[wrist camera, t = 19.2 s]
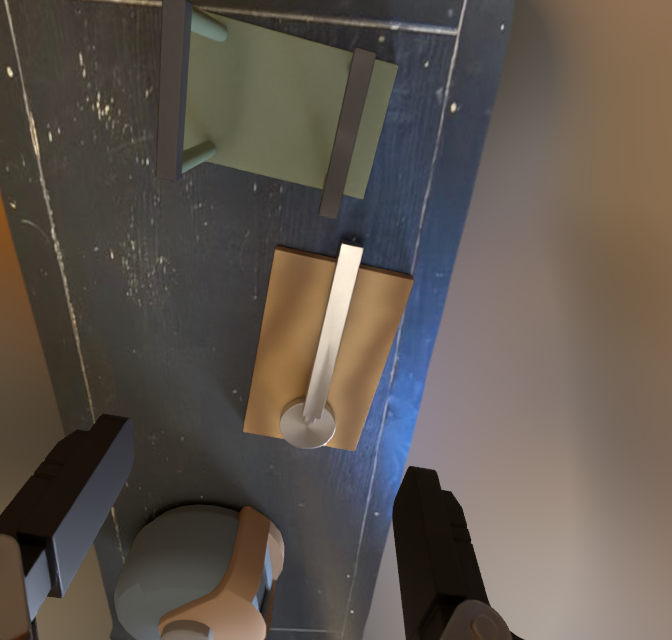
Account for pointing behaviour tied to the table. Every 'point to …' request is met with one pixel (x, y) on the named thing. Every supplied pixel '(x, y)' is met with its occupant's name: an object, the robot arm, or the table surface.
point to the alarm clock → (201, 576)
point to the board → (302, 336)
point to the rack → (268, 104)
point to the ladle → (324, 358)
